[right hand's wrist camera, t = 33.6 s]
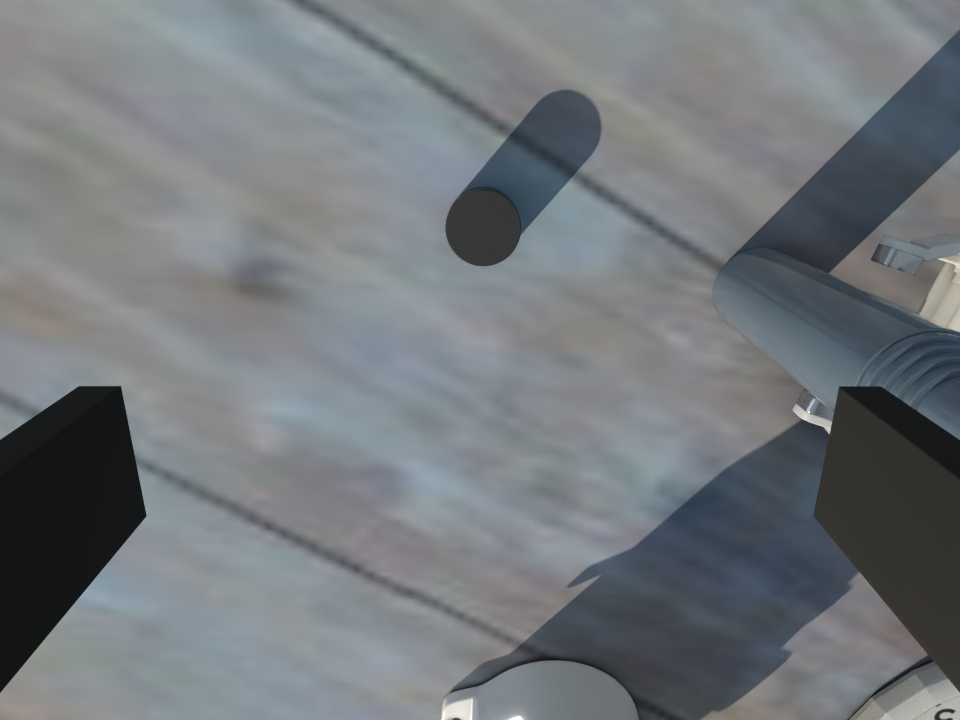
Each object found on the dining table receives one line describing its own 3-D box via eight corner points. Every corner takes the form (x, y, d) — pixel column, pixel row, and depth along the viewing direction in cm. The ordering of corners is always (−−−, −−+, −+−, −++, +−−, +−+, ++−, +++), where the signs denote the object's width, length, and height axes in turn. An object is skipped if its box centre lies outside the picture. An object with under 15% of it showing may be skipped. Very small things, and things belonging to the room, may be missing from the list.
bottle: (802, 318, 45) (1103, 506, 23) (719, 339, 45) (936, 541, 24) (793, 237, 43) (1110, 358, 21) (706, 259, 43) (930, 399, 22)
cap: (517, 184, 42) (519, 187, 40) (520, 257, 43) (522, 263, 41) (444, 189, 42) (442, 192, 40) (450, 261, 43) (448, 268, 41)
